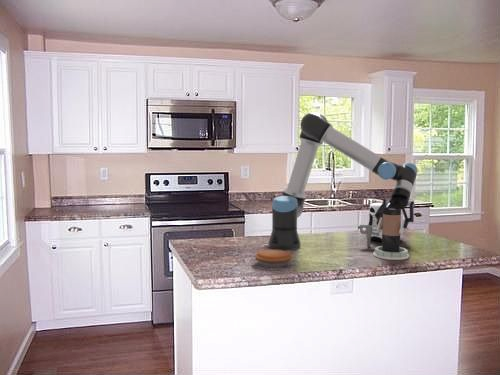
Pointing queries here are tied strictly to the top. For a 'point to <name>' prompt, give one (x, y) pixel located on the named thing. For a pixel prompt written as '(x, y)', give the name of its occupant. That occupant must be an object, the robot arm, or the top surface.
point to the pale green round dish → (391, 254)
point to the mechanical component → (367, 232)
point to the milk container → (373, 220)
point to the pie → (273, 258)
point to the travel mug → (391, 229)
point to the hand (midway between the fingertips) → (389, 232)
